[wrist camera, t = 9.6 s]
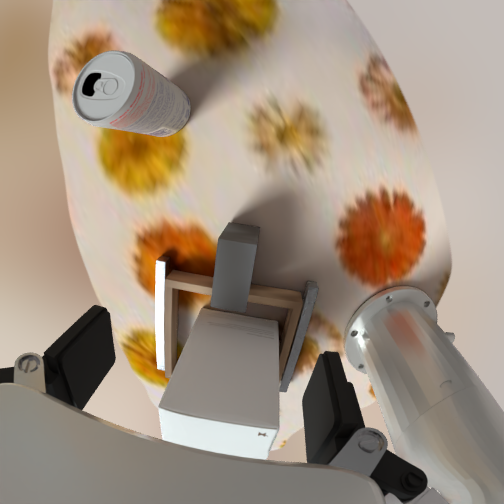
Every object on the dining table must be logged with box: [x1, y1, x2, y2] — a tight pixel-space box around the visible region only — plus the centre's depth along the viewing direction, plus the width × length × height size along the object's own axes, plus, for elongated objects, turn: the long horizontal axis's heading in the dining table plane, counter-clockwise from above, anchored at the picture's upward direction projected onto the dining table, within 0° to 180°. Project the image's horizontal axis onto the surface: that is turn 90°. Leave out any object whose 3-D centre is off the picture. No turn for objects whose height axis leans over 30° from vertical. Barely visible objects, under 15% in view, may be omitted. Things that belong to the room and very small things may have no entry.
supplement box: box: [159, 308, 279, 460], centre depth 25 cm, size 9×9×15 cm
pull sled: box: [164, 222, 303, 383], centre depth 27 cm, size 14×20×6 cm
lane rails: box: [156, 256, 319, 392], centre depth 31 cm, size 17×15×2 cm
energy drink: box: [72, 51, 191, 137], centre depth 19 cm, size 5×5×12 cm
